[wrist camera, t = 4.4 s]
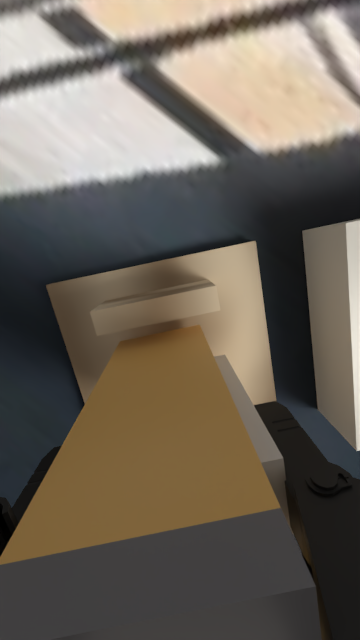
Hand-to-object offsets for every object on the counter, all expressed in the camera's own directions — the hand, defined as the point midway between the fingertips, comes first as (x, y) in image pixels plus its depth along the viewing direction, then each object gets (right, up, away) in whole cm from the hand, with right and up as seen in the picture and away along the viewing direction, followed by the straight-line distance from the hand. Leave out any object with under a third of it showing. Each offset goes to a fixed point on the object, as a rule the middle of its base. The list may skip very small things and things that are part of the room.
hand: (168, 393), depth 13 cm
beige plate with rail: (0, +1, +4) cm, 5 cm away
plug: (0, +1, +3) cm, 3 cm away
